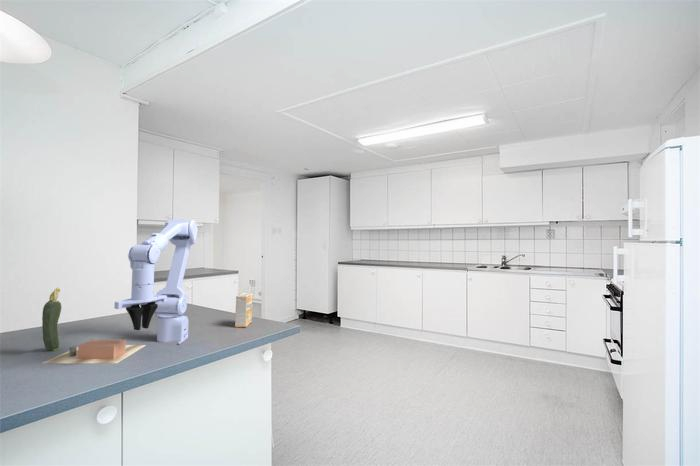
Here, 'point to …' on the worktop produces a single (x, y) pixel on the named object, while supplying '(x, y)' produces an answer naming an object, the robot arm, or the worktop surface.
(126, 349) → the board
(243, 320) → the supplement box
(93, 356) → the pink channel block
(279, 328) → the worktop surface
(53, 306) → the vegetable
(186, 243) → the robot arm
